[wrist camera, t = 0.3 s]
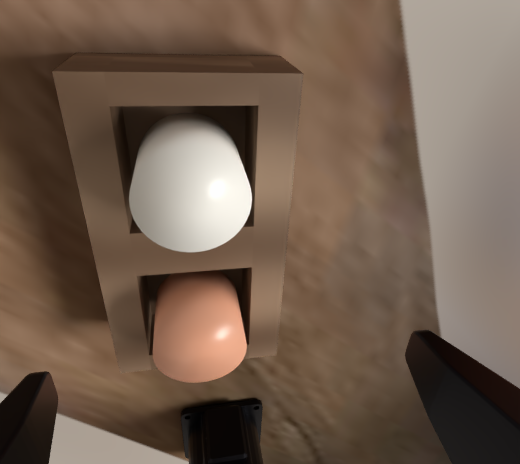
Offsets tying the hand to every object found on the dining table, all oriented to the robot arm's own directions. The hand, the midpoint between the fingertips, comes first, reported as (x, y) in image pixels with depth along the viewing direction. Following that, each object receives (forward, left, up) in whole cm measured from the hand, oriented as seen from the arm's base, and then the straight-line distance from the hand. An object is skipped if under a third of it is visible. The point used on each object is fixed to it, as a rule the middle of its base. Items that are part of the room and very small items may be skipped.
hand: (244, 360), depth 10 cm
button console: (-3, +1, -13) cm, 13 cm away
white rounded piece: (+1, +1, -10) cm, 10 cm away
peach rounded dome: (-7, +1, -10) cm, 12 cm away
